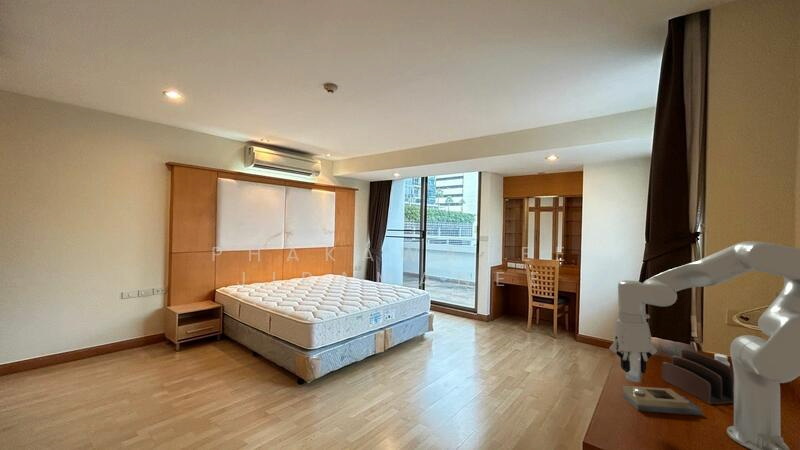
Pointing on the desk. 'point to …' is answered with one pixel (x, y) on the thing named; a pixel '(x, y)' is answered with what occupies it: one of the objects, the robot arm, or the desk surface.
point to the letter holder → (700, 377)
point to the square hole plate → (659, 400)
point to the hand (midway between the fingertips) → (633, 370)
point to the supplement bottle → (722, 359)
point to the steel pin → (634, 367)
